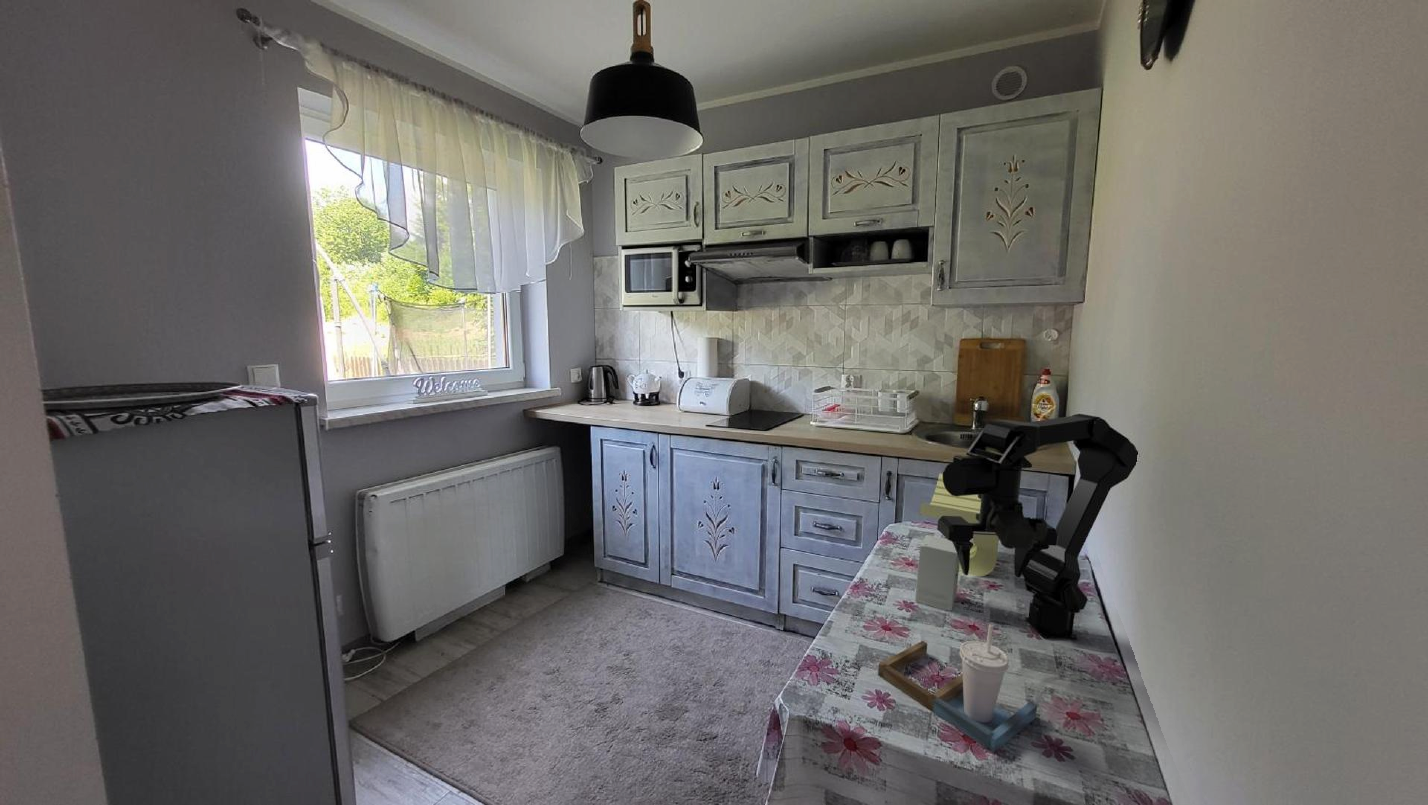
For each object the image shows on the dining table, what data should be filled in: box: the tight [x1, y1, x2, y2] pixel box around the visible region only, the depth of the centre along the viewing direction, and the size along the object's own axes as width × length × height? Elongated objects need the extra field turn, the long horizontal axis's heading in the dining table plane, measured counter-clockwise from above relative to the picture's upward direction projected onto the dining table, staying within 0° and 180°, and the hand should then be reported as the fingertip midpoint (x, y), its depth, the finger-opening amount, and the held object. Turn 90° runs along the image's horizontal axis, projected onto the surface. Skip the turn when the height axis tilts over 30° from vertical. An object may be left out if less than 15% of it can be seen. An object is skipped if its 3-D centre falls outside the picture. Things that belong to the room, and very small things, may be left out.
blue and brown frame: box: [877, 640, 1038, 754], centre depth 81 cm, size 12×19×2 cm, turn 35°
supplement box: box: [914, 534, 960, 612], centre depth 110 cm, size 7×7×13 cm
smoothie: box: [959, 623, 1010, 722], centre depth 76 cm, size 6×6×14 cm
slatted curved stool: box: [919, 473, 1000, 577], centre depth 129 cm, size 30×16×18 cm, turn 149°
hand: (991, 575), depth 94 cm, fingers open, 9 cm apart
